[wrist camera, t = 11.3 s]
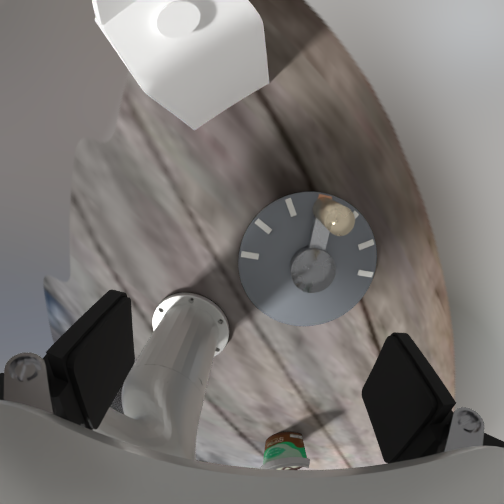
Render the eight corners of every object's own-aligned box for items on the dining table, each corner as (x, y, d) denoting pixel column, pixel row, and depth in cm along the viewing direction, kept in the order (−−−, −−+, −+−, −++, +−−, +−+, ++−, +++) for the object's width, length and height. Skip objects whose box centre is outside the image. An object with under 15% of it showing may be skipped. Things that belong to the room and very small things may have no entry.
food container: (285, 421, 51) (288, 459, 41) (306, 430, 52) (310, 466, 42) (248, 444, 54) (246, 479, 44) (269, 453, 55) (269, 486, 45)
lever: (326, 289, 39) (339, 317, 32) (285, 282, 39) (290, 310, 32) (348, 202, 36) (369, 212, 28) (304, 192, 35) (316, 200, 28)
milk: (223, 27, 30) (180, -99, 5) (269, 83, 33) (279, -39, 8) (153, 72, 33) (37, -5, 8) (194, 130, 35) (83, 82, 10)
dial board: (352, 327, 43) (355, 332, 42) (230, 312, 43) (229, 316, 42) (387, 207, 37) (391, 209, 36) (250, 179, 37) (250, 180, 36)
